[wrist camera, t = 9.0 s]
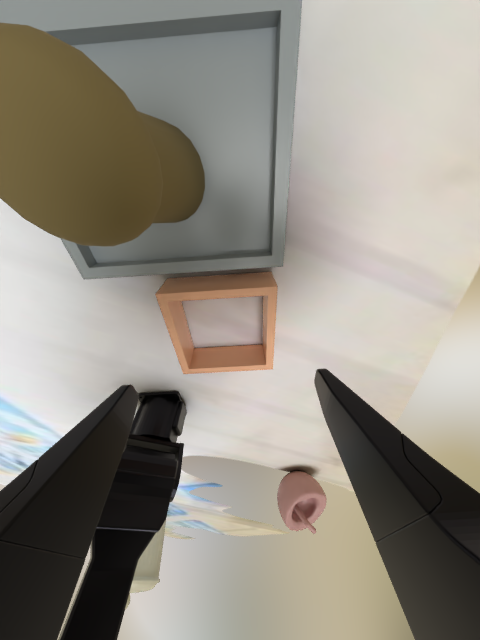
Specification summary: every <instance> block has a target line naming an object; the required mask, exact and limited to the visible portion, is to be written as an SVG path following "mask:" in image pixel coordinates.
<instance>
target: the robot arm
mask: <svg viewBox="0 0 480 640" xmlns="http://www.w3.org/2000/svg"><path fill="white" fill-rule="evenodd" d="M314 382H315V387H316V390H317V394H318V397H319V401H320V404H321V408H322V411H323V414H324V417H325V420H326V423H327V425H328V427H329V430H330V432H331V435H332V437H333V440H334V442H335V445H336V447H337V449H338V452H339V454H340V457H341V459H342V462H343V464H344V467H345V469H346V471H347V474H348V476H349V479H350V481H351V484H352V486H353V489H354V491H355V494H356V496H357V498H358V501H359V503H360V505H361V508H362V511H363V513H364V516H365V518H366V520H367V523H368V525H369V528H370V530H371V533H372V535H373V537H374V540H375V542H376V545H377V548H378V550H379V553H380V555H381V557H382V560H383V562H384V565H385V567H386V569H387V572H388V575H389V577H390V580H391V582H392V584H393V587H394V589H395V591H396V594H397V597H398V599H399V601H400V604H401V606H402V609H403V611H404V614H405V616H406V618H407V621H408V624H409V626H410V629H411V631H412V633H413V636H414V638H415V640H480V493H478V492H477V491H476V490H474V489H473V488H471V487H470V486H469V485H468V484H466V483H465V482H464V481H462V480H461V479H459V478H458V477H457V476H456V475H454V474H453V473H452V472H450V471H449V470H448V469H446V468H445V467H444V466H442V465H441V464H440V463H438V462H437V461H436V460H435V459H433V458H432V457H431V456H429V455H428V454H427V453H426V452H424V451H423V450H422V449H421V448H420V447H418V446H417V445H416V444H415V443H414V442H412V441H411V440H410V439H409V438H407V437H406V436H405V435H404V434H401V432H400V431H399V430H398V429H397V428H396V427H395V426H393V425H392V424H391V423H390V422H389V421H387V420H386V419H385V418H384V417H383V416H382V415H380V414H379V413H378V412H377V411H376V410H374V409H373V408H372V407H371V406H370V405H368V404H367V403H366V402H365V401H364V400H363V399H361V398H360V397H359V396H358V395H357V394H355V393H354V392H353V391H352V390H351V389H350V388H348V387H347V386H346V385H345V384H344V383H342V382H341V381H340V380H339V379H338V378H337V377H335V376H334V375H333V374H332V373H331V372H329V371H328V370H327V369H317V371H316V375H315V380H314ZM138 399H139V401H140V402H141V404H140V406H139V409H138V411H137V413H136V415H135V411H136V407H137V403H138ZM186 411H187V410H186V407H185V405H184V403H183V401H182V399H181V397H180V394H179V393H178V392H157V393H140V394H139V395H138V393H137V392H136V390H135V389H134V387H133V386H132V385H123V386H121V387H120V388H119V389H117V390H116V391H115V392H114V393H113V394H112V395H110V396H109V397H108V398H107V399H106V400H105V401H104V402H102V403H101V404H100V405H99V406H98V407H97V408H96V409H94V410H93V411H92V412H91V413H90V414H89V415H88V416H86V417H85V418H84V419H83V420H82V421H81V422H80V423H78V424H77V425H76V426H75V427H74V428H73V429H72V430H70V431H69V432H68V433H67V434H66V435H65V436H64V437H62V438H61V439H60V440H59V441H58V442H57V443H56V444H54V445H53V446H52V447H51V448H50V449H49V450H48V451H46V452H45V453H44V454H43V455H42V456H41V457H40V458H39V459H38V460H36V461H35V462H34V463H33V464H31V465H30V466H29V467H28V468H27V469H26V470H25V471H23V472H22V473H21V474H20V475H19V476H18V477H16V478H15V479H14V480H13V481H12V482H10V483H9V484H8V485H7V486H6V487H4V488H3V489H2V490H1V491H0V640H57V638H58V635H59V632H60V630H61V626H62V624H63V621H64V618H65V615H66V613H67V609H68V607H69V604H70V601H71V598H72V596H73V593H74V590H75V587H76V584H77V581H78V578H79V576H80V573H81V570H82V567H83V565H84V562H85V558H86V556H87V553H88V550H89V547H90V544H91V558H90V561H89V563H88V566H87V569H86V571H85V573H84V577H83V579H82V581H81V584H80V586H79V589H78V591H77V594H76V596H75V599H74V602H73V604H72V606H71V609H70V612H69V614H68V617H67V619H66V622H65V624H64V627H63V629H62V632H61V634H60V637H59V639H58V640H117V637H118V633H119V629H120V626H121V622H122V618H123V615H124V611H125V607H126V604H127V600H128V596H129V592H130V589H131V585H132V581H133V578H134V574H135V570H136V567H137V563H138V560H139V558H140V556H141V555H142V553H143V552H144V550H145V549H146V547H147V546H148V544H149V543H150V541H151V540H152V538H153V537H154V535H155V534H156V532H159V530H160V529H161V527H162V525H163V523H164V522H165V520H166V516H167V511H168V507H169V503H170V502H172V500H173V498H174V496H175V494H176V491H177V487H178V484H179V479H180V474H181V465H182V456H183V447H184V443H176V441H177V437H178V436H180V435H181V434H182V429H183V424H184V420H185V415H186V413H187V412H186ZM134 415H135V418H134ZM133 419H134V420H133ZM123 451H124V452H123Z"/></svg>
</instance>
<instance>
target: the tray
mask: <svg viewBox="0 0 480 640" xmlns="http://www.w3.org/2000/svg"><path fill="white" fill-rule="evenodd" d="M301 8H302V0H0V23H10V24H20V25H28V26H31V27H34V28H36V29H39V30H42V31H44V32H46V33H48V34H50V35H52V36H54V37H56V38H58V39H60V40H61V41H63V42H65V43H67V44H69V45H71V46H73V47H75V48H76V49H78V50H80V51H82V52H83V53H84V54H85V55H86V56H87V57H88V58H89V59H91V60H92V61H93V62H94V63H95V64H96V65H97V66H98V67H99V68H100V69H101V70H102V71H103V72H104V73H105V74H106V75H107V76H109V77H110V78H111V79H112V80H113V81H114V82H115V83H116V84H117V85H118V86H119V87H120V88H121V89H122V90H123V91H124V92H125V93H126V95H127V96H128V98H129V99H130V101H131V102H132V104H133V105H134V107H135V108H136V110H137V111H139V112H142V113H145V114H147V115H150V116H153V117H155V118H158V119H161V120H163V121H165V122H167V123H169V124H171V125H173V126H175V127H177V128H179V129H180V130H181V131H182V132H183V133H184V134H185V135H186V136H187V137H188V138H189V139H190V140H191V142H192V144H193V145H194V147H195V149H196V150H197V152H198V154H199V155H200V159H201V162H202V165H203V169H204V173H205V191H204V195H203V199H202V202H201V204H200V206H199V207H198V209H197V211H196V212H195V213H194V214H193V215H192V216H190V217H189V218H188V219H186V220H183V221H180V222H177V223H152V224H151V226H150V227H149V228H148V229H146V230H145V231H144V232H143V233H142V234H141V235H139V236H138V237H137V238H135V239H134V240H132V241H129V242H126V243H123V244H119V245H116V246H84V245H80V244H77V243H74V242H71V241H68V240H65V239H62V238H61V240H62V242H63V244H64V245H65V247H66V249H67V251H68V253H69V254H70V256H71V258H72V260H73V261H74V263H75V265H76V267H77V268H78V270H79V272H80V274H81V275H82V277H83V279H98V278H113V277H128V276H144V275H159V274H174V273H190V272H205V271H220V270H235V269H251V268H266V267H281V266H283V260H284V246H285V232H286V218H287V204H288V190H289V176H290V162H291V148H292V134H293V120H294V106H295V92H296V78H297V64H298V50H299V36H300V22H301Z"/></svg>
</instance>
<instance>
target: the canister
mask: <svg viewBox="0 0 480 640" xmlns="http://www.w3.org/2000/svg"><path fill="white" fill-rule="evenodd" d="M165 523H166V520H165V522H164V523H163V525H162V527H161V529H160V530H159V532H156V534H155V535H154V537H153V538H152V540H151V541H150V543H149V544H148V546H147V547H146V549H145V550H144V552H143V553H142V555H141V556H140V558H139V560H138V563H137V567H136V570H135V574H134V578H133V581H132V585H131V589H130V592H129V596H128V600H127V604H126V607H125V609H126V608H127V607H128V605H129V603H130V593H135V592H144V591H148V590H151V589H153V588H154V587H155V585H156V584H157V583H159V582H160V579H159V577H158V576H159V570H160V562H161V555H162V547H163V540H164V532H165Z"/></svg>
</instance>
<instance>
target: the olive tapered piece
mask: <svg viewBox="0 0 480 640" xmlns="http://www.w3.org/2000/svg"><path fill="white" fill-rule="evenodd" d="M204 191H205V173H204V169H203V165H202V162H201V159H200V155H199V154H198V152H197V150H196V149H195V147H194V145H193V144H192V142H191V140H190V139H189V138H188V137H187V136H186V135H185V134H184V133H183V132H182V131H181V130H180V129H179V128H177V127H175V126H173V125H171V124H169V123H167V122H165V121H163V120H161V119H158V118H155V117H153V116H150V115H147V114H145V113H142V112H139V111H137V110H136V108H135V107H134V105H133V104H132V102H131V101H130V99H129V98H128V96H127V95H126V93H125V92H124V91H123V90H122V89H121V88H120V87H119V86H118V85H117V84H116V83H115V82H114V81H113V80H112V79H111V78H110V77H109V76H107V75H106V74H105V73H104V72H103V71H102V70H101V69H100V68H99V67H98V66H97V65H96V64H95V63H94V62H93V61H92V60H91V59H89V58H88V57H87V56H86V55H85V54H84V53H83V52H82V51H80V50H78V49H76V48H75V47H73V46H71V45H69V44H67V43H65V42H63V41H61V40H60V39H58V38H56V37H54V36H52V35H50V34H48V33H46V32H44V31H42V30H39V29H36V28H34V27H31V26H28V25H20V24H10V23H0V198H1V199H2V200H3V201H4V202H5V203H7V204H8V205H9V206H10V207H11V208H12V209H14V210H15V211H16V212H17V213H18V214H19V215H21V216H22V217H23V218H24V219H26V220H27V221H29V222H31V223H33V224H34V225H36V226H38V227H39V228H41V229H43V230H44V231H46V232H48V233H50V234H52V235H54V236H57V237H59V238H62V239H65V240H68V241H71V242H74V243H77V244H80V245H84V246H116V245H119V244H123V243H126V242H129V241H132V240H134V239H135V238H137V237H138V236H139V235H141V234H142V233H143V232H144V231H145V230H146V229H148V228H149V227H150V226H151V224H152V223H177V222H180V221H183V220H186V219H188V218H189V217H190V216H192V215H193V214H194V213H195V212H196V211H197V209H198V207H199V206H200V204H201V202H202V199H203V195H204Z"/></svg>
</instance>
